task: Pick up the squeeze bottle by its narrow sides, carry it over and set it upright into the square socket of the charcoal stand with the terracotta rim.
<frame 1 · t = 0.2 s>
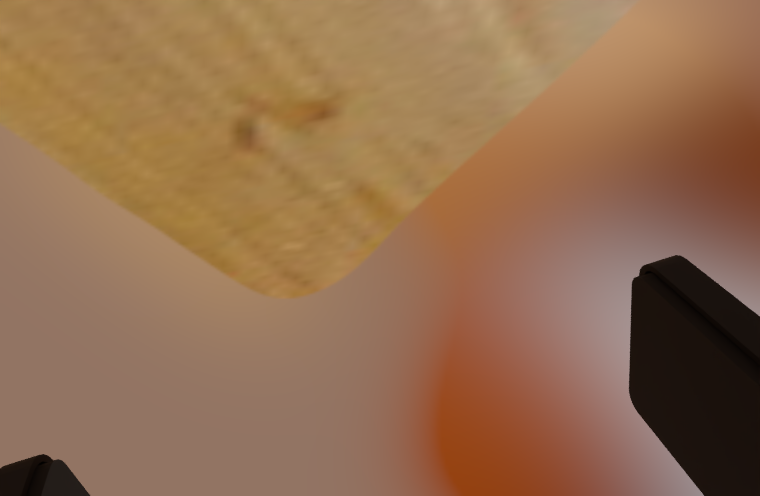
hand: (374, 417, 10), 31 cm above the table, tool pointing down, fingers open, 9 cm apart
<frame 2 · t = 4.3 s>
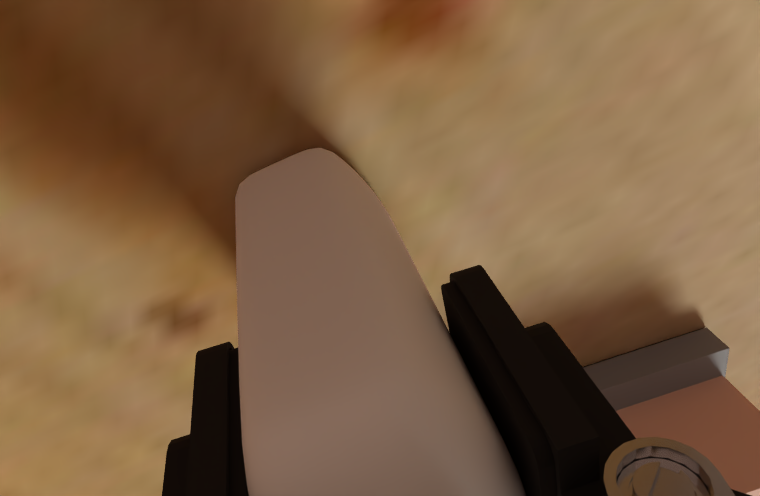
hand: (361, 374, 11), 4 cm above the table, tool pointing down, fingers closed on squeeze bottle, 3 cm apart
squeeze bottle: (326, 249, 14), on the table, touching gripper
when the fingers open (7 cm above the table, at t = 10.2 s): squeeze bottle drops 1 cm, resting on socket stand.
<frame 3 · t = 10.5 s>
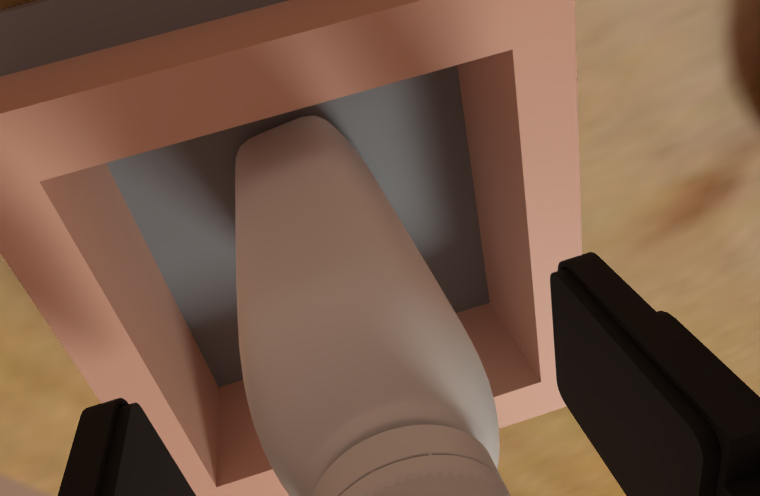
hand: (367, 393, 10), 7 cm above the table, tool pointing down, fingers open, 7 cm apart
socket stand: (315, 208, 16), on the table
squeeze bottle: (318, 217, 15), point 1 cm above the table, touching socket stand
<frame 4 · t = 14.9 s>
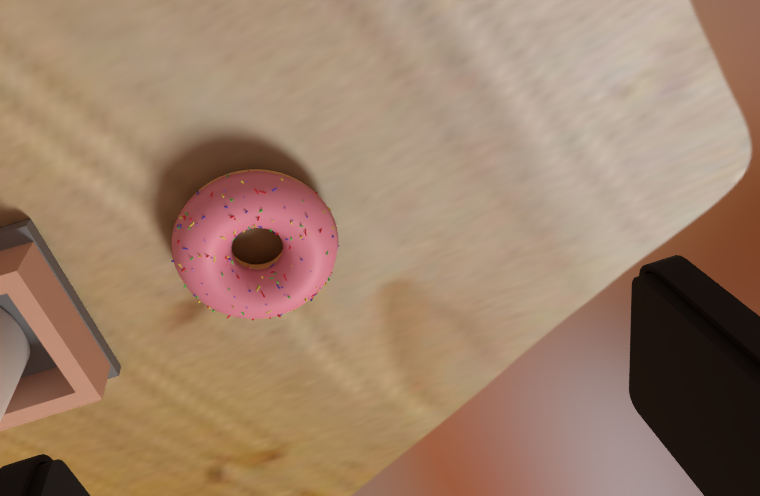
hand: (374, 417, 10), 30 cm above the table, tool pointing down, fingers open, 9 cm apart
doughnut: (256, 232, 42), on the table
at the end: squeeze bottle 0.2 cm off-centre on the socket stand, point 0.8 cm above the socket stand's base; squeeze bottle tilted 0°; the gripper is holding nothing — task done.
